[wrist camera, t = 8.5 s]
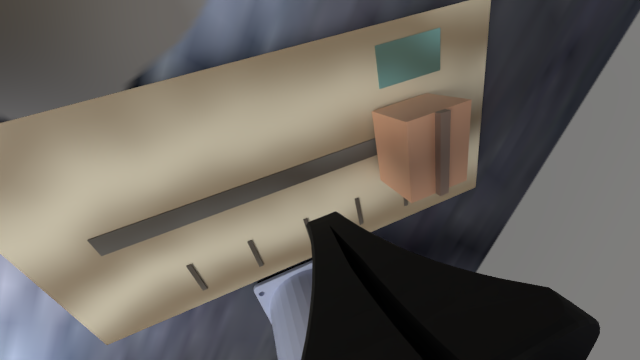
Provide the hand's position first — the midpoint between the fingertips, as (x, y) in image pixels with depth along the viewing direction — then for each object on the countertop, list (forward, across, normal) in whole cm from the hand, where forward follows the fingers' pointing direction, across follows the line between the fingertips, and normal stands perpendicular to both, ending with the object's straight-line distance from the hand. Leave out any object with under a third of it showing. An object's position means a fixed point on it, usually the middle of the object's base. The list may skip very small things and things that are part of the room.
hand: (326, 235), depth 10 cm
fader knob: (+6, -8, 0) cm, 10 cm away
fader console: (+9, 0, 0) cm, 9 cm away
